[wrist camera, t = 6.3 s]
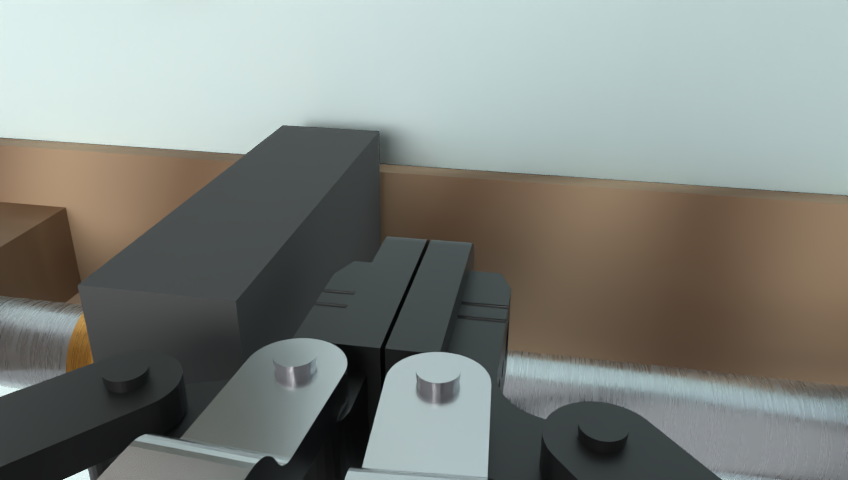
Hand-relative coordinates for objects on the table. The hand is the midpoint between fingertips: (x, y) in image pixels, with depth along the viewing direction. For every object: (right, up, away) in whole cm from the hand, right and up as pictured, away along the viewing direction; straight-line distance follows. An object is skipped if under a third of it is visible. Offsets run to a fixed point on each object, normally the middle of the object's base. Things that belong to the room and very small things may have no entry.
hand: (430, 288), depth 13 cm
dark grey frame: (-2, 0, +7) cm, 7 cm away
